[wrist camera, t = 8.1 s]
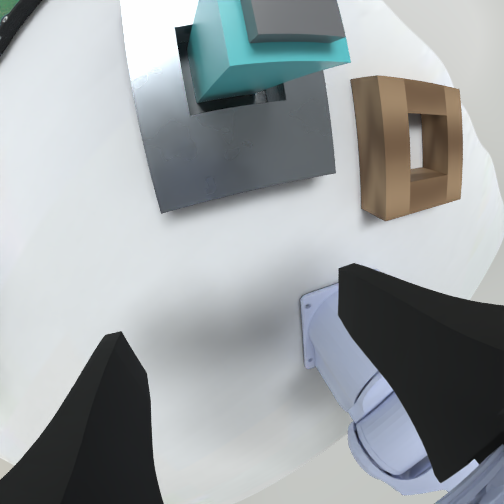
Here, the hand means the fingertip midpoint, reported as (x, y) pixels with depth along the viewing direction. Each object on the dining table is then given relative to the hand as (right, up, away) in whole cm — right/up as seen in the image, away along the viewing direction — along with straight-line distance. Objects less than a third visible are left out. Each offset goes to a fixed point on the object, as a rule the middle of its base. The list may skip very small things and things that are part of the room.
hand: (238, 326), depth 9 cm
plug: (-1, +13, +5) cm, 14 cm away
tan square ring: (+13, +11, +11) cm, 20 cm away
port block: (-1, +13, +5) cm, 14 cm away
